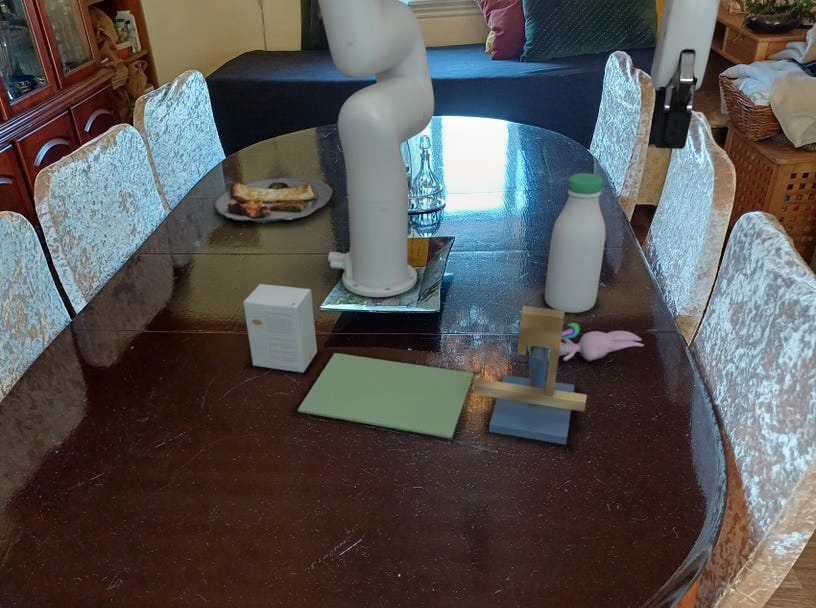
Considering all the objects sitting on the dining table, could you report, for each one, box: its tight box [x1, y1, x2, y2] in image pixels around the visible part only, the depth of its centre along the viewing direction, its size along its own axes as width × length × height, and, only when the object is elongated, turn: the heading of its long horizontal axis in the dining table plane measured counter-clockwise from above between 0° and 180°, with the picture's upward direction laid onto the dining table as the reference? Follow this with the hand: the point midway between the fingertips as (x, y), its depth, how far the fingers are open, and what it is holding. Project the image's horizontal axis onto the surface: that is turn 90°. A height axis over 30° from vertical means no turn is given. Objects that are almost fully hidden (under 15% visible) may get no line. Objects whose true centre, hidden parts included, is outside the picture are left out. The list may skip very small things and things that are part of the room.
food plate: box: [212, 176, 333, 225], centre depth 154 cm, size 25×23×4 cm
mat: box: [297, 352, 475, 439], centre depth 96 cm, size 20×14×1 cm
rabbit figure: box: [527, 322, 645, 363], centre depth 99 cm, size 6×6×15 cm
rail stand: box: [488, 346, 575, 446], centre depth 88 cm, size 9×11×11 cm
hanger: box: [473, 305, 588, 413], centre depth 84 cm, size 13×2×12 cm, turn 70°
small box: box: [243, 283, 318, 373], centre depth 101 cm, size 8×6×10 cm
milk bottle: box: [544, 173, 606, 314], centre depth 108 cm, size 8×8×20 cm
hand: (667, 135), depth 87 cm, fingers open, 9 cm apart
